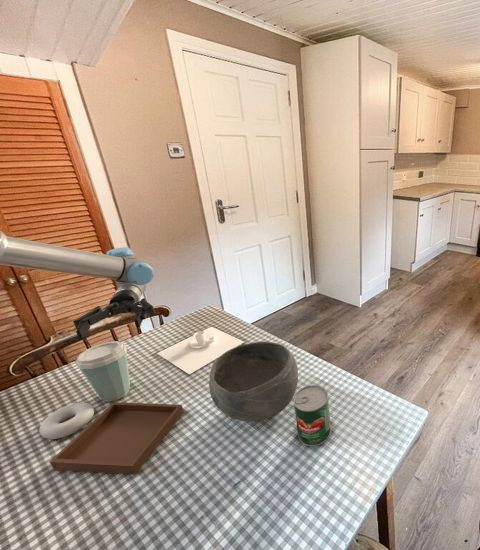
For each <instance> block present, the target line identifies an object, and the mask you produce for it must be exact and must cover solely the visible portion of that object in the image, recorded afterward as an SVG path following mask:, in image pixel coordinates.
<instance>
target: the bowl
mask: <svg viewBox="0 0 480 550" xmlns="http://www.w3.org/2000/svg"><path fill="white" fill-rule="evenodd" d="M208 382H209V383H208V388H209V389H208V390H209V395H210V398H211V400H212V402H213V403H214V405H215V407H216V408H217V409H218V410H219V411H220V412H221V413H223V414H224V415H225V416H227V417H230V418H231V419H234V420H237V421H241V422H260V421H265V420H268V419H270V418H273V417H274V416H276V415H278V414H280V413H281V412H282V411H284V409H286V407H288V405H289V404H290V403H291V402H292V399H294V396H295V394H296V391H297V388H298V383H299V367H298V364H297V361H296V359H295V357H294V354H293V353H292V351H290V349H288V347H287V346H285V345H283V344H281V343H277V342H271V341H263V340H262V341H255V342H249V343H244V344H240V345H238V346H237V347H235V348H233V349H230V350H228V351H226V352H225V353H224V354H222V355H221V356H220V357H218V358H216V359H215V360H214V362H213V364H212V366H211V368H210V371H209V381H208Z"/></svg>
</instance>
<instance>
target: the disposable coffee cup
mask: <svg viewBox="0 0 480 550" xmlns="http://www.w3.org/2000/svg"><path fill="white" fill-rule="evenodd" d="M127 350H128V347H127V345H126V344H124V343H123V342H121V341H120V340H113V341H107V342H103V343H99V344H96V345H94V346H91V347H89V348H87V349H86V350H84V351H83V352H81V353H79V355H78V356H77V358H76V360H75V366H76V367H77V368H78V369H79V370H80V372H81V373H82V374H83V376H84V377H85V379H86V380H87V382H88V383H89V384H90V386H91V388H92V389H93V390H94V392H95V393H96V395H97V396H98V398H99V399H100V400H102V401H104V402H106V403H107V402H115V401H117V400H119V399H121V398H123V397H125V396H126V395H128V394H129V392H130V388H131V379H130V371H129V364H128V363H129V362H128V355H127Z"/></svg>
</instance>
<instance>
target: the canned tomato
mask: <svg viewBox="0 0 480 550" xmlns="http://www.w3.org/2000/svg"><path fill="white" fill-rule="evenodd" d="M292 402H293V404H294V405H293V406H294V413H295V421H296V429H297V436H298V437H297V438H298V440H299V442H300V443H302V444H303V445H305V446H307V447H317V446H320V445H322V444H324V443H325V442H326V441H327V440H328V439H329V438H330V437H331V434H332V427H331V415H330V401H329V392H328V391H327V389H326V388H325V387H323V386H321V385H316V384H309V385H307V386H304V387H302V388H300V389H299V390H297V392H295V394H294V396H293V401H292Z"/></svg>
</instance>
